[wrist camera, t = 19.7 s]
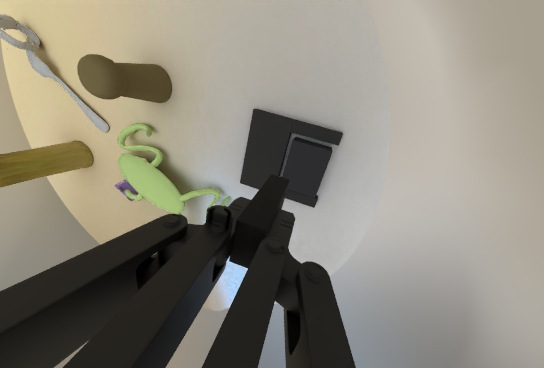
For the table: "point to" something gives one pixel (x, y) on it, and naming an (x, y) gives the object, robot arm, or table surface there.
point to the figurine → (152, 178)
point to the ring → (10, 23)
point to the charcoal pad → (306, 166)
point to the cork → (124, 79)
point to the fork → (46, 72)
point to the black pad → (277, 148)
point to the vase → (43, 162)
